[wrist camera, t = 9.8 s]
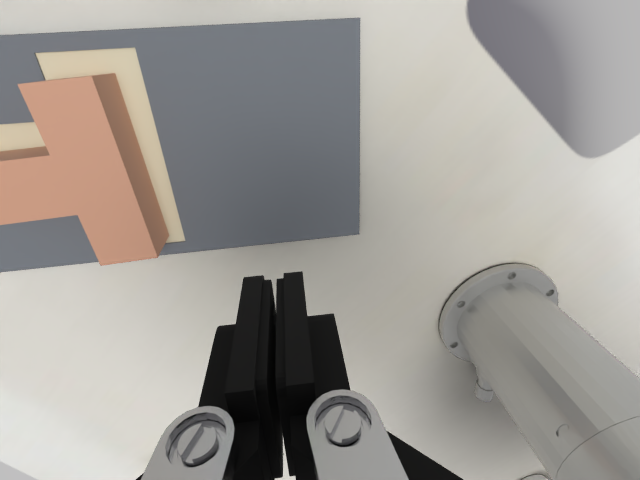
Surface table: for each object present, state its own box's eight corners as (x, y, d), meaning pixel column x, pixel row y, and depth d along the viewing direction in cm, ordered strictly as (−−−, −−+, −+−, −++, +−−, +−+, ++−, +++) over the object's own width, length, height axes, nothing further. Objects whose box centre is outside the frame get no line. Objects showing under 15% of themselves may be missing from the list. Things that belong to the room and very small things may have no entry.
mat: (357, 231, 31) (359, 234, 31) (-7, 269, 29) (-12, 273, 28) (357, 18, 24) (359, 17, 23) (-138, 42, 21) (-149, 42, 21)
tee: (169, 235, 29) (157, 257, 26) (27, 255, 28) (-3, 280, 25) (115, 72, 23) (91, 76, 20) (-66, 92, 22) (-119, 98, 19)
